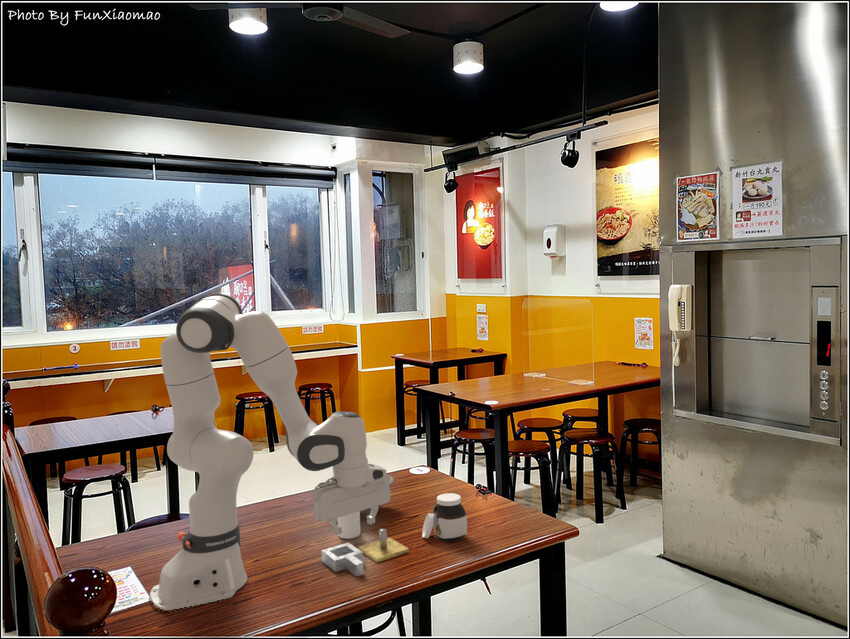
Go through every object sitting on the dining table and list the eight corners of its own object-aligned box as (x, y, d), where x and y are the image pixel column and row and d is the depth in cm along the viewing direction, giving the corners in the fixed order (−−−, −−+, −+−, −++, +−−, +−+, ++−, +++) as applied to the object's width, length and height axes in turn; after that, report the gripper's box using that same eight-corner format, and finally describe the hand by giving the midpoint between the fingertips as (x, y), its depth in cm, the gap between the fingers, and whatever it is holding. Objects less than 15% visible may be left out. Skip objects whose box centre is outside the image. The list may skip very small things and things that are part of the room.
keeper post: (376, 562, 165) (375, 540, 165) (358, 550, 173) (357, 528, 173) (408, 552, 171) (407, 530, 170) (389, 540, 179) (388, 519, 179)
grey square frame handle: (374, 571, 160) (373, 559, 160) (346, 580, 156) (345, 568, 156) (348, 553, 172) (348, 542, 171) (322, 561, 167) (321, 550, 167)
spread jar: (471, 539, 177) (470, 499, 177) (437, 549, 172) (435, 507, 171) (448, 526, 188) (447, 488, 187) (415, 535, 182) (413, 496, 181)
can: (356, 540, 180) (354, 499, 180) (335, 539, 182) (333, 498, 181) (363, 531, 187) (361, 491, 186) (342, 530, 188) (340, 491, 187)
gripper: (318, 488, 150) (322, 544, 151) (391, 468, 161) (395, 521, 163) (307, 481, 155) (311, 535, 157) (379, 463, 167) (382, 514, 168)
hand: (354, 528), depth 160 cm, fingers open, 8 cm apart
